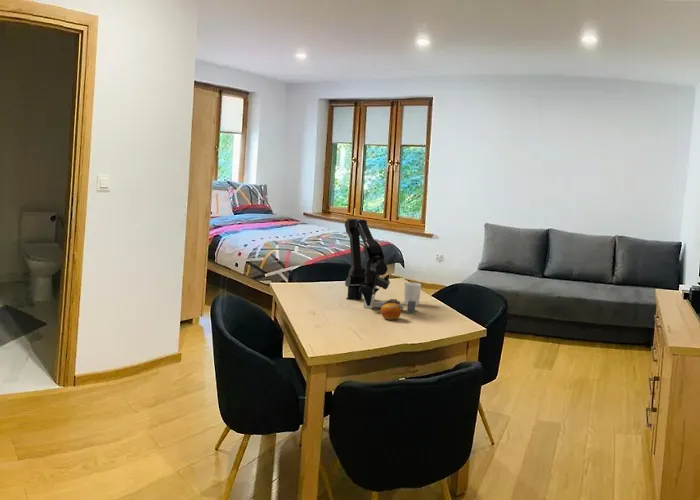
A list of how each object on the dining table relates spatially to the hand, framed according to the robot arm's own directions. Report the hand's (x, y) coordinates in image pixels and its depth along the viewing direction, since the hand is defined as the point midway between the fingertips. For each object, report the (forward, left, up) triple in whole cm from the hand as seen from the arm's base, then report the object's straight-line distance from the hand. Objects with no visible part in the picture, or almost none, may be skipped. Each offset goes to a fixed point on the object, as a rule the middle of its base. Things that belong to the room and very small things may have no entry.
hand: (369, 304), depth 286 cm
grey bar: (+7, 0, -1) cm, 7 cm away
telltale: (+19, 0, -1) cm, 19 cm away
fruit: (+14, -17, -2) cm, 22 cm away
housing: (+15, 0, -1) cm, 15 cm away
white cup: (+17, +16, -1) cm, 23 cm away
